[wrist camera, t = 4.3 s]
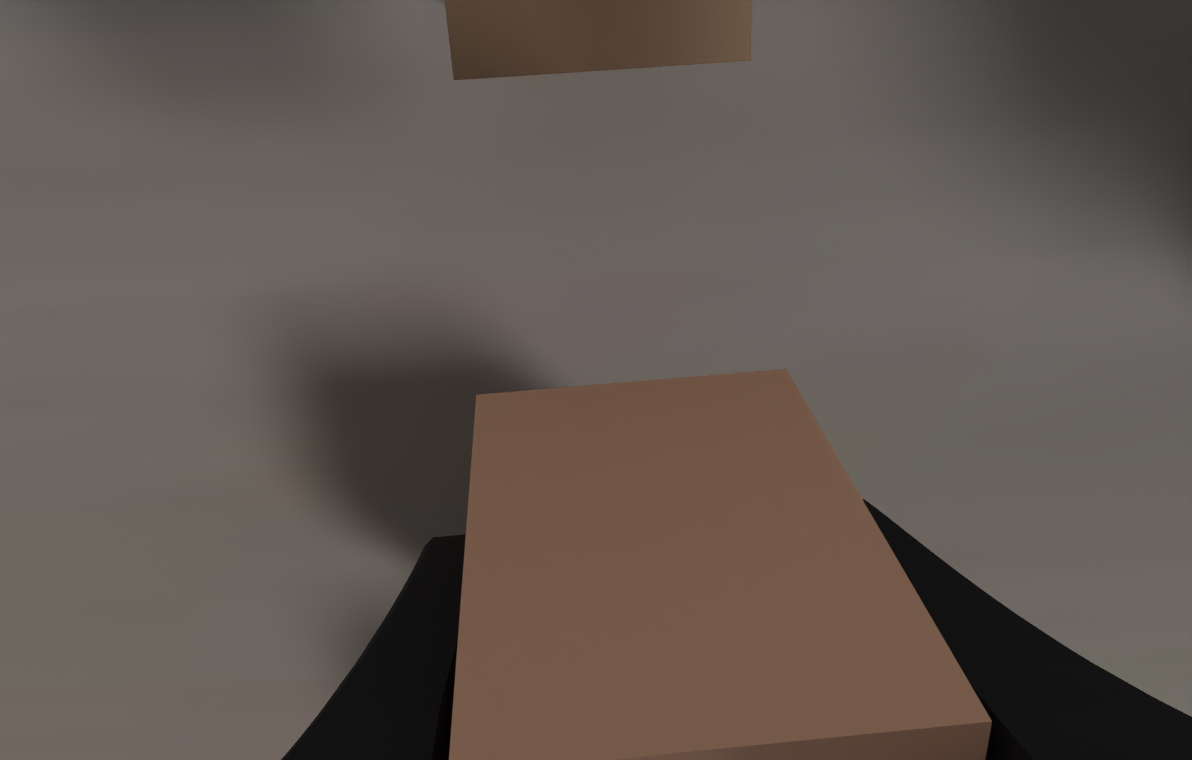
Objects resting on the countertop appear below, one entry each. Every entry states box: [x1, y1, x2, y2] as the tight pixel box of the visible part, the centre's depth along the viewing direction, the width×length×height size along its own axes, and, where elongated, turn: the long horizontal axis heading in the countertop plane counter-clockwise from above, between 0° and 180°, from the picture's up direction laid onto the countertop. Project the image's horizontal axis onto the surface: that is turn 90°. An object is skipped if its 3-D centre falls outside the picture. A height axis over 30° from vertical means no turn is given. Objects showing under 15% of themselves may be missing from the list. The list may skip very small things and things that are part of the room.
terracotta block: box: [449, 369, 992, 760], centre depth 11 cm, size 4×4×6 cm
